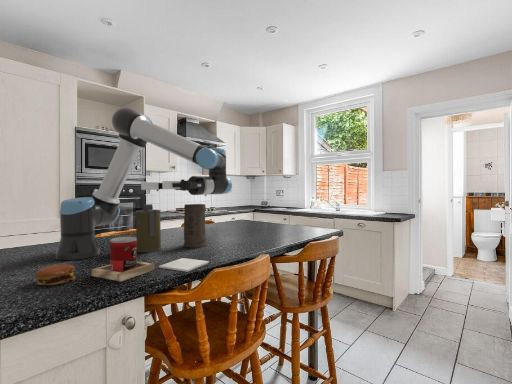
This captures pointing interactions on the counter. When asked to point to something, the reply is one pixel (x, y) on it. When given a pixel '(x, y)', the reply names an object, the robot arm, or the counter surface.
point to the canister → (148, 229)
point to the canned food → (123, 254)
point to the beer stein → (194, 225)
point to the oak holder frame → (118, 276)
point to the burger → (55, 274)
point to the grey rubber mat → (184, 264)
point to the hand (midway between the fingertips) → (151, 185)
